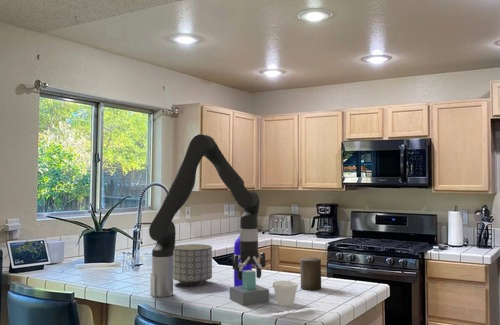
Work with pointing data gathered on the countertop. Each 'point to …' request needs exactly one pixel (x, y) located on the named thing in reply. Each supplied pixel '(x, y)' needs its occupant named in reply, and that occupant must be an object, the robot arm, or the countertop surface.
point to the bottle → (247, 267)
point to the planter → (192, 263)
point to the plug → (249, 279)
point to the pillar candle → (310, 273)
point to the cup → (285, 292)
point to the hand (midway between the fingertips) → (249, 279)
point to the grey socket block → (249, 295)
